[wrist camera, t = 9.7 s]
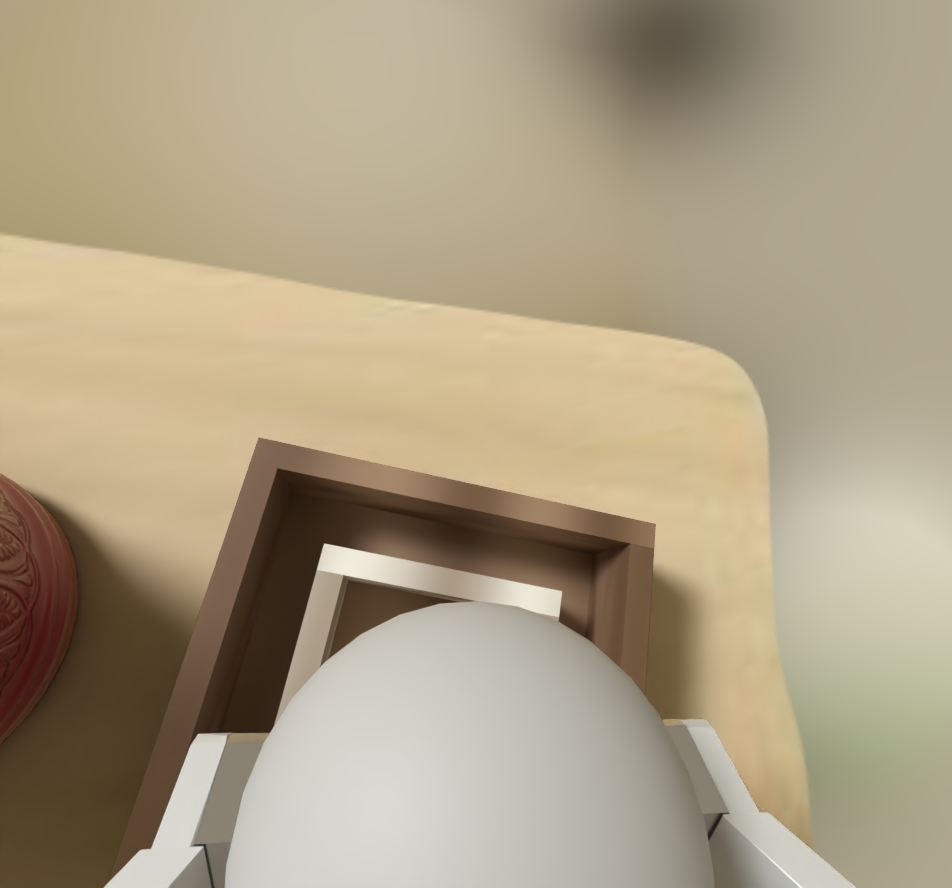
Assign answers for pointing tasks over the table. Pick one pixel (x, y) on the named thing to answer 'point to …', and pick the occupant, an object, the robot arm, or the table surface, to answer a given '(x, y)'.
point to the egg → (469, 767)
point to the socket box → (377, 587)
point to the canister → (31, 602)
